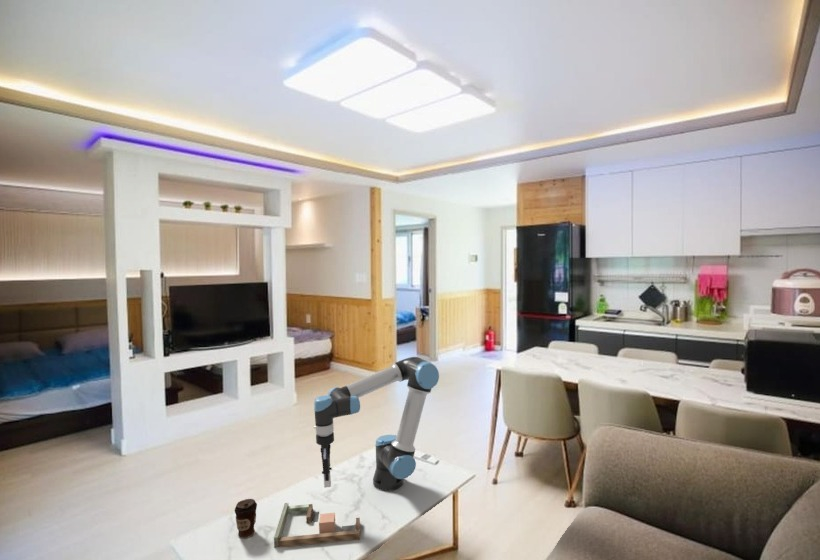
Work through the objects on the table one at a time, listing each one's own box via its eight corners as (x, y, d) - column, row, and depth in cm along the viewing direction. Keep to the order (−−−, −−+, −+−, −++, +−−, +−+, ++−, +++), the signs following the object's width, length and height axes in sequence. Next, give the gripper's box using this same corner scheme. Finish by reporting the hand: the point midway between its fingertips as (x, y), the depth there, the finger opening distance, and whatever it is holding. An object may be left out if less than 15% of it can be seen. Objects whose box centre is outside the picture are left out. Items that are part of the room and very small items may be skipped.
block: (335, 524, 173) (334, 512, 173) (334, 533, 167) (333, 521, 167) (320, 525, 172) (320, 513, 172) (319, 534, 166) (318, 523, 166)
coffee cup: (249, 542, 163) (248, 510, 162) (230, 540, 164) (229, 508, 164) (261, 528, 171) (260, 498, 170) (243, 526, 173) (242, 496, 172)
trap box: (359, 505, 186) (359, 496, 186) (359, 539, 163) (359, 529, 163) (285, 511, 182) (284, 503, 182) (274, 547, 159) (273, 537, 159)
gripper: (317, 427, 182) (320, 479, 183) (314, 440, 169) (317, 496, 170) (334, 426, 183) (337, 477, 184) (332, 438, 170) (335, 493, 171)
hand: (327, 486), depth 177 cm, fingers closed
